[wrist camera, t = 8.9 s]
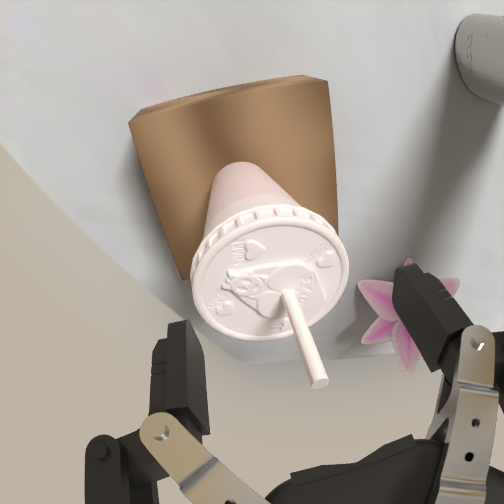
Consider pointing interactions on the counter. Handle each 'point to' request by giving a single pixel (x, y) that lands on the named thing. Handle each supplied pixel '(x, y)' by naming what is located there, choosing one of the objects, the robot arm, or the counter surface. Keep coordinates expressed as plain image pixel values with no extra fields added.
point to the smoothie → (266, 264)
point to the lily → (394, 320)
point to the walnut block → (236, 151)
